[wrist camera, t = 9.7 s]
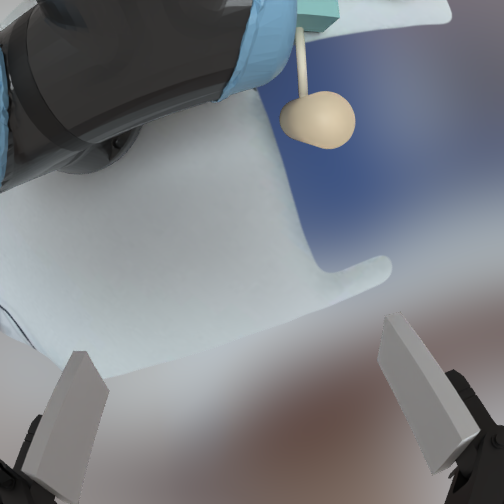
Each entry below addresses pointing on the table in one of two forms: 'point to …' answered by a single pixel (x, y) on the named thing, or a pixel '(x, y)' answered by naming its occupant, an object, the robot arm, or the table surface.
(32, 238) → the table surface
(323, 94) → the toy hammer
